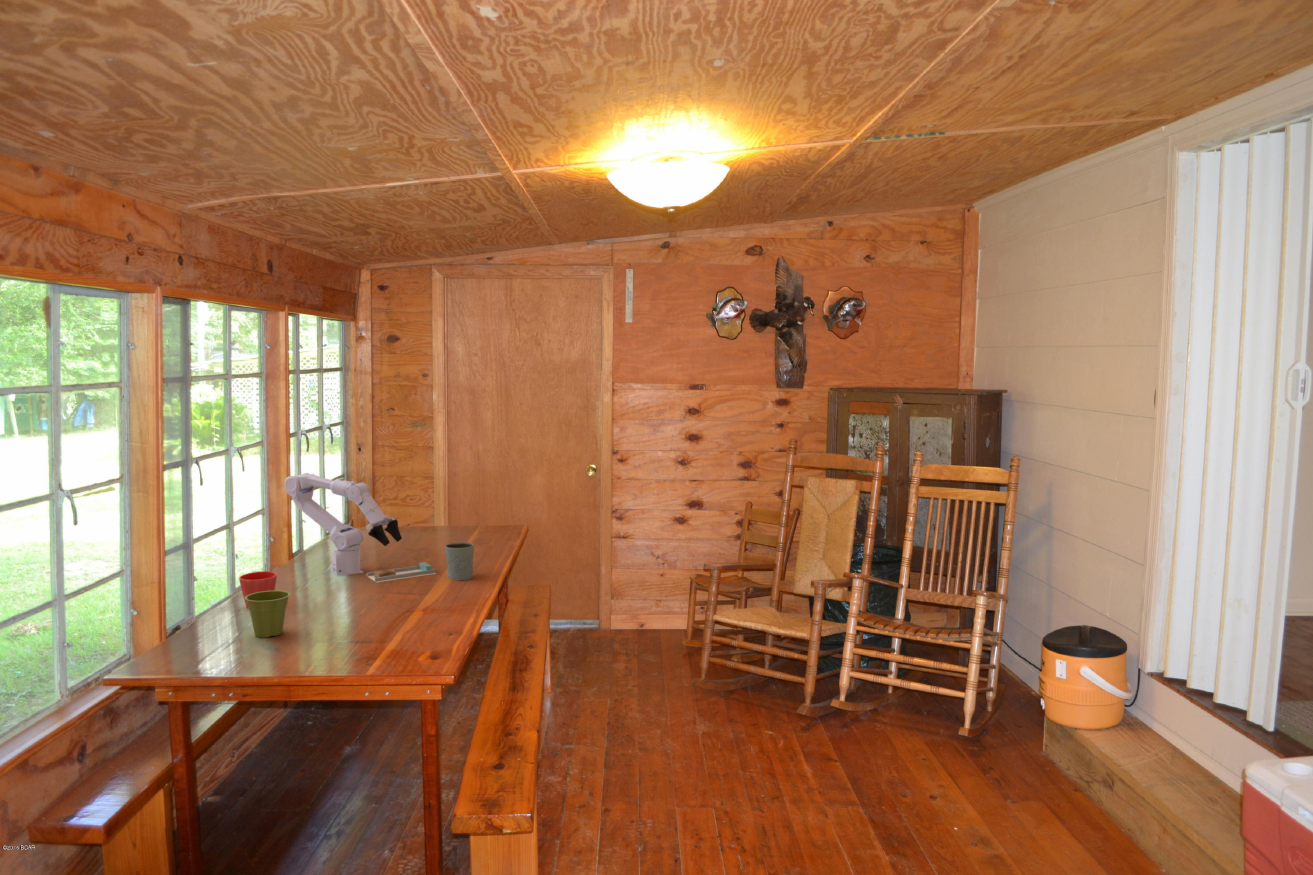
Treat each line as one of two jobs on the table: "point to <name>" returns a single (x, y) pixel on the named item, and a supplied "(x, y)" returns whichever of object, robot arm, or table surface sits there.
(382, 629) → the table surface
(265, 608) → the plant pot
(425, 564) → the track
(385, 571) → the block
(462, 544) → the grey tapered pot
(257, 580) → the flower pot
